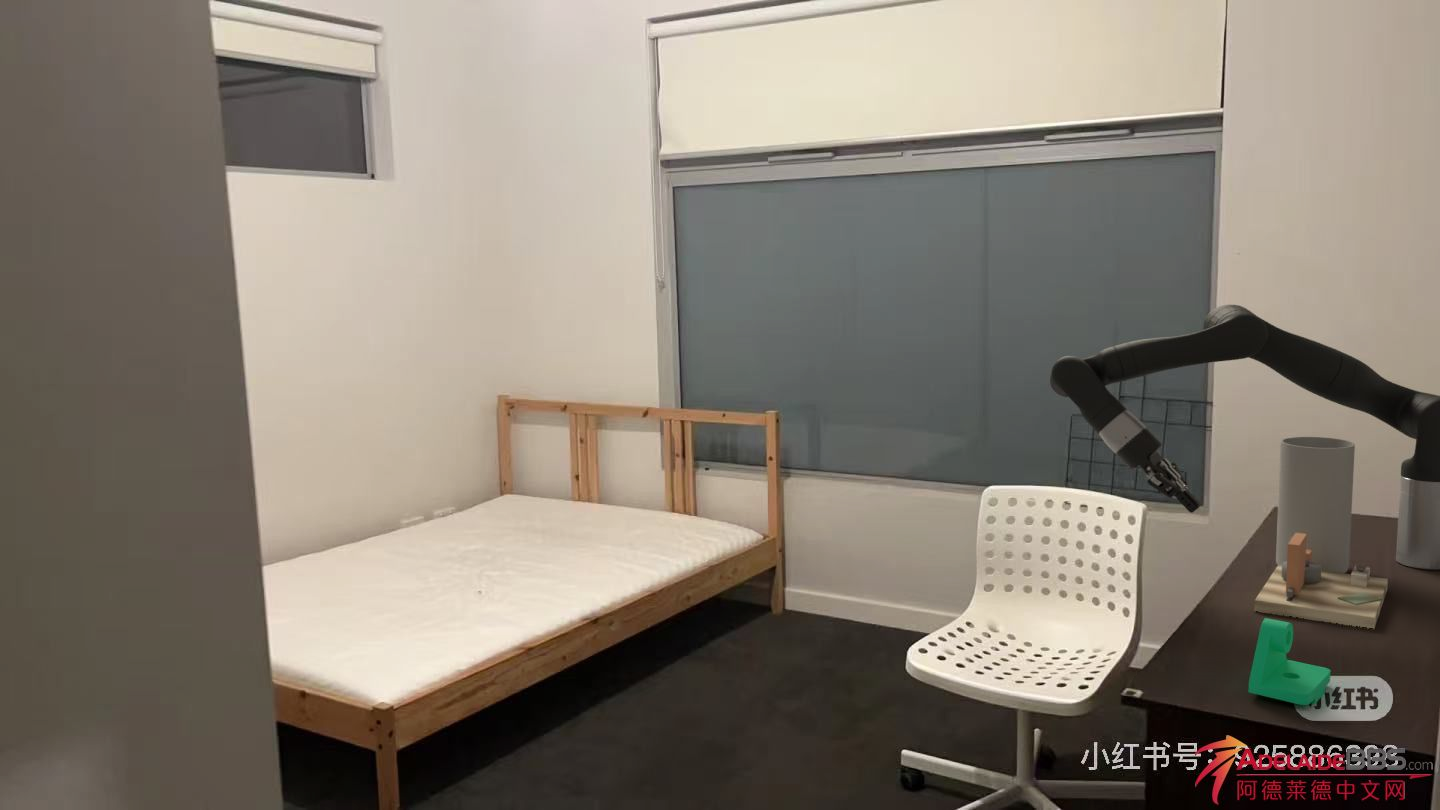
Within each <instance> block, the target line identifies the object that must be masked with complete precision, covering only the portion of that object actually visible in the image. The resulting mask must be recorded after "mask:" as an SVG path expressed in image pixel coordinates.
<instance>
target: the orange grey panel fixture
mask: <svg viewBox="0 0 1440 810" xmlns="http://www.w3.org/2000/svg"><path fill="white" fill-rule="evenodd" d="M1306 539H1307V534H1303V533H1295V534H1294V536H1293V537H1292V539H1291V540H1290V541H1289V543H1288V552H1287V561H1284V562H1282V575H1281V576H1282V578H1284V579H1286V594H1287V597H1291V598H1292V597H1293V595H1298V593H1299V591H1300V590H1301V588H1302V586H1303V584H1304V583H1317V582H1320V581H1321V570H1322V567H1321V565H1319V564H1316V563H1313V562H1311V561H1312V550H1307V549H1306Z"/></svg>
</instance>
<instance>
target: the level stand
mask: <svg viewBox="0 0 1440 810" xmlns="http://www.w3.org/2000/svg"><path fill="white" fill-rule="evenodd" d="M1370 573H1371V567H1370V566H1369V567H1368V566H1367V565H1366V563H1364V562H1360V561H1359V562H1356V564H1355V566H1354V567H1353V569H1352V571H1351V573H1337V572H1329V571H1321V581H1320V582H1317V583H1304V584H1303V586H1302V588H1301V590H1300V591H1299V593H1298V595H1293V597H1292V598H1291V597H1287V594H1286V579H1284V578H1282V576H1281V575H1282V565H1277V566H1276V567H1275V569H1274V571H1273V572H1272V574H1271V575H1270V577H1269V578H1268V580H1267V581H1266V582H1265V585H1264V586H1263V587H1262V589H1261V590H1260V591H1259V593H1258V594H1257V596H1256V598H1255V599H1254V606H1253V607H1254V609H1253V611H1254V612H1256V611H1258V613H1263V614H1264V613H1265V614H1269V613H1270V614H1271V613H1272V614H1271V615H1276V614H1277V615H1278V616H1283V615H1284V616H1283V617H1289V616H1292V617H1291V618H1296V617H1298V619H1303V618H1304V620H1310V621H1315V622H1316V621H1317V622H1322V621H1323V622H1324V623H1329V622H1331V623H1330V624H1336V623H1338V624H1337V625H1342V624H1343V625H1344V626H1349V625H1350V626H1351V625H1352V626H1351V627H1356V626H1358V628H1362V627H1367V628H1366V629H1369V628H1373V629H1372V630H1375V628H1376V624H1377V621H1378V619H1379V617H1380V613H1381V610H1382V607H1383V603H1384V601H1385V597H1386V595H1387V591H1388V586H1389V585H1388V583H1389V581H1388V580H1389V579H1388V578H1381V577H1375V576H1370ZM1277 615H1276V616H1277ZM1343 625H1342V626H1343ZM1359 626H1360V627H1359Z"/></svg>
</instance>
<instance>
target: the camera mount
mask: <svg viewBox="0 0 1440 810" xmlns="http://www.w3.org/2000/svg"><path fill="white" fill-rule="evenodd" d="M1293 626H1294V625H1293V624H1292V622H1288V621H1282V620H1279V619H1272V618H1267V617H1265V618H1263V620H1262V623H1261V625H1260V628H1259V632H1258V633H1259V634H1258V637H1257V638H1258V639H1257V643H1256V646H1255V647H1256V648H1255V652H1254V656H1253V661H1252V666H1251V670H1250V674H1249V680H1248V693H1249V694H1253V695H1259V696H1263V697H1267V698H1271V699H1275V700H1280V701H1284V702H1287V703H1288V702H1289V703H1292V704H1296V705H1301V706H1308V705H1310V704H1313V705H1315V704H1316V703H1318V701H1319V700H1320V699H1321V698H1322V696H1323V697H1324V695H1325V693H1326V691H1325V690H1326V687H1327V686H1328V684H1330V682H1331V669H1329V668H1328V667H1324V666H1319V665H1314V664H1308V663H1304V662H1300V661H1295V660H1291V659H1288V657H1287V654H1289V652H1290V651H1291V648H1292V644H1293V641H1294V627H1293Z"/></svg>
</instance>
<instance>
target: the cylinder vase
mask: <svg viewBox="0 0 1440 810" xmlns="http://www.w3.org/2000/svg"><path fill="white" fill-rule="evenodd" d="M1279 444H1280V445H1279V446H1280V447H1279V449H1280V450H1279V472H1278V473H1279V476H1278V497H1277V502H1278V503H1277V523H1276V545H1275V547H1276V551H1275V563H1276V565H1277V566H1278V565H1282V562H1284V561H1287V552H1288V543H1289V541H1290V540H1291V539H1292V537H1293V536H1294V534H1295V533H1303V534H1307V539H1306V549H1307V550H1312V561H1311V562H1313V563H1316V564H1319V565H1321V567H1322V570H1321V571H1329V572H1337V573H1345V574H1347V572H1348V570H1349V568H1350V550H1351V532H1352V531H1351V529H1352V510H1353V508H1352V507H1353V494H1354V493H1353V491H1354V490H1353V489H1354V488H1353V487H1354V470H1355V452H1356V451H1355V450H1356V444H1355V443H1354V442H1353V441H1350V440H1346V439H1342V438H1333V437H1323V436H1293V437H1286V438H1282V439H1280V443H1279Z"/></svg>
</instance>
